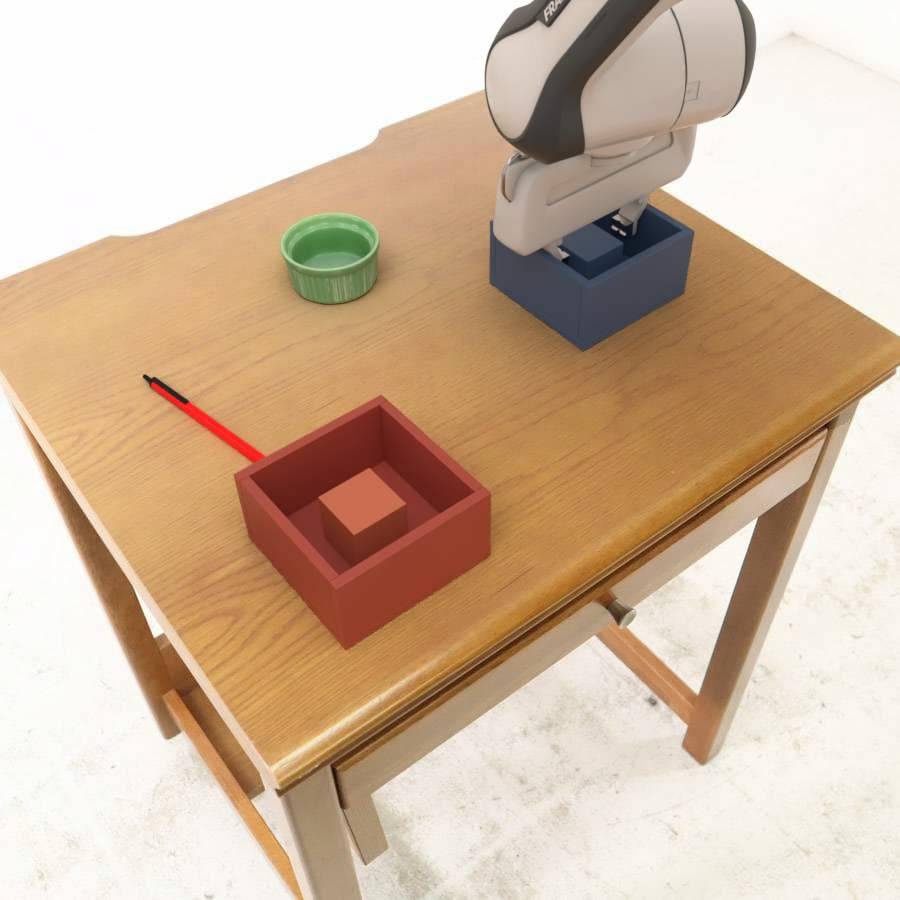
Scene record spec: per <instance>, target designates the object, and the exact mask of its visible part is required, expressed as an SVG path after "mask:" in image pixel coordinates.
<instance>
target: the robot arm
mask: <svg viewBox="0 0 900 900" xmlns="http://www.w3.org/2000/svg"><path fill="white" fill-rule="evenodd" d="M756 28H757V27H756V23H755V20H754V16H753V14H752V12H751V11H750V9H749V6H747V5H746V3H745V1H744V0H532V1H531V2H530V3H528V4H525V5H522V6H519V7H516V8H515V9H514V10H513V11H511V13H510V14H509V15H508V17H507V18H506V19H505V21H504V22H503V23H502V25H501V26H500V27H499V29H498V31H497V33H496V35H495V36H494V39H493V41H492V43H491V44H490V46H489V49H488V52H487V55H486V59H485V65H484V93H485V101H486V105H487V109H488V112H489V115H490V119H491V120H492V123H493V125H494V127H495V129H496V130H497V133H499V135H500V136H501V137H502V138H503V139H504V140H505V141H507V142H508V144H510V145H511V146H512V147H514V149H513V153H512V154H511V155H510V156H509V157H508V158H507V160H506V161H505V162H504V163H503V164H502V165H501V169H500V174H499V178H498V183H497V187H496V188H497V189H496V193H495V202H494V207H493V219H492V220H493V233H494V235H495V237H496V238H497V239H498V240H499V241H500V242H501V243H503V244H504V245H505V246H506V247H508V248H509V249H511V250H513V251H514V252H516V253H518V254H519V255H522V256H526V255H529V254H531V253H533V252H535V251H537V250H539V249H541V248H542V249H544V250H545V251H547V252H548V253H549V254H551V255H552V256H554V257H555V258H557V259H558V260H560V261H561V262H563V263H564V264H566V265H567V266H569V265H568V263H569V258H570V255H569V254H567V253H566V252H564V251H561V249H560V248H558V247H557V246H559V245H561V244H562V239H563V237H564V236H566V235H568V234H570V233H572V232H574V231H576V230H578V229H580V228H582V227H584V226H586V225H588V224H590V223H592V222H594V221H596V220H598V219H600V218H601V217H603V216H605V215H607V214H609V213H611V212H613V211H615V210H617V209H619V208H620V211H619V214H617V215H615V216H613V217H612V227H611V233H612V234H613V236H615V237H619V239H620V240H625V239H627V238H629V237H631V236H633V235H635V234H636V229H637V221H638V219H639V218H640V216H641V214H642V212H643V211H644V209H645V207H646V205H647V203H649V202H650V200H651V193H652V192H655V191H657V190H659V189H661V188H662V187H664V186H666V185H668V184H670V183H672V182H674V181H676V180H679V179H680V178H682V177H683V176H684V175H685V173H686V171H687V170H688V168H689V166H690V165H691V162H692V159H693V155H694V149H695V146H696V145H695V144H696V137H697V131H698V126H699V125H702V124H706V123H709V122H712V121H715V120H717V119H720V118H724V117H727V116H728V115H730V114H731V113H732V112H733V110H734V109H735V108H736V107H737V106H738V104H739V103H740V101H741V100H742V98H743V96H744V95H745V94H746V91H747V89H748V86H749V84H750V81H751V77H752V73H753V71H754V65H755V60H756V52H757V51H756V50H757V31H756V30H757V29H756Z"/></svg>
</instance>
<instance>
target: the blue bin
mask: <svg viewBox="0 0 900 900" xmlns="http://www.w3.org/2000/svg"><path fill="white" fill-rule="evenodd" d="M619 211H620V208H619V209H617V210H615V211H613V212H611V213H609V214H607V215H605V216H603V217H601V218H600V219H598V220H596V221H594V222H592V223H593V224H594V225H596V226H597V227H599V228H601V229H602V230H604V231H605V232H607V233H609V234H610V235H612V236H613V234H612V233H611V227H612V217H613V216H615V215H617V214H619ZM695 233H696V232H695V230H694V229H693V228H691V227H689V226H688V225H686V224H684V223H682V222H681V221H679V220H678V219H676V218H675V217H672V216H671V215H669V214H667V213H665V212H664V211H662V210H660V209H659V208H657V207H655V206H654V205H652V204H651V203H649V202H648V203H647V205H646V207H645V209H644V211H643V212H642V214H641V216H640V218H639V219H638V221H637V229H636V234H635V235H633V236H631V237H629V238H627V239H625V240H620V239H619V237H615V236H613V237H615V238H617V239H618V240H620V241H621V242H623V243H624V244H623V253H622V262H621V264H619V265H617V266H615V267H613V268H611V269H609V270H608V271H606V272H604V273H602V274H600V275H598V276H596V277H595V278H593V279H591V280H588V279H587V278H585V277H584V276H582V275H581V274H579V273H578V272H576V271H575V270H573V269H572V268H570V267H569V266H567V265H566V264H564V263H563V262H561V261H560V260H558V259H557V258H555V257H554V256H552V255H551V254H549V253H548V252H547V251H545V250H544V249H542V248H541V249H539V250H537V251H535V252H533V253H531V254H529V255H526V256H522V255H519V254H518V253H516V252H514V251H513V250H511V249H509V248H508V247H506V246H505V245H504V244H503V243H501V242H500V241H499V240H498V239H497V238H496V237H495V235H494V233H493V219H490V221H489V284H490V285H492V286H493V287H494V288H496V289H497V290H499V291H500V292H501V293H503V294H504V295H505V296H507V298H509V299H511V300H512V301H514V303H516V304H518V305H519V306H520V307H521V308H523V309H525V310H526V311H527V312H529V313H530V314H531V315H533V316H534V317H535V318H537V320H539V321H541V322H542V323H543V324H544V325H546V326H548V327H549V328H550V329H552V330H553V331H555V332H556V333H557V334H559V335H560V336H561V337H563V338H564V339H565V340H567V341H568V342H570V343H571V344H572V345H574V346H575V347H576V348H578V349H579V350H581V351H582V352H585V351H586V350H588V349H590V348H591V347H593V346H595V345H597V344H599V343H601V342H602V341H605V340H606V339H607V338H609V337H611V336H613V335H614V334H616V333H617V332H620V331H622V330H623V329H625V328H627V327H628V326H630V325H632V324H634V323H635V322H637V321H638V320H640V319H642V318H644V317H645V316H647V315H649V314H651V313H653V312H654V311H656V310H659V309H660V308H662V307H664V306H665V305H667V304H668V303H670V302H672V301H674V300H676V299H677V298H679V297H680V296H682V295H684V294H685V290H686V285H687V280H688V274H689V273H688V272H689V268H690V263H691V256H692V250H693V244H694V238H695Z"/></svg>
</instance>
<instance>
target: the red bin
mask: <svg viewBox="0 0 900 900" xmlns="http://www.w3.org/2000/svg"><path fill="white" fill-rule="evenodd" d="M265 456H266V457H265V458H263V459H261V460H259V461H257V462H255V463H254V462H253V463H251V464H250V465H248V466H246V467H244V468H242V469H241V470H239V471H237V472H235V473H233V480H234V483H235V487H236V492H237V495H238V499H239V504H240V508H241V511H242V516H243V519H244V524H245V528H246V532H247V535H248V538H249V539H250V540H251V542H253V544H254V545H255V546H256V547H257V548H258V549H259V551H260V552H261V553H262V554H263V555H264V556H265V558H266V559H267V560H268V561H269V562H270V564H271V565H272V566H273V567H274V568H275V569H276V571H277V572H278V573H279V574H280V575H281V576H282V577H283V579H284V580H285V581H286V582H287V584H289V585H290V587H291V588H292V589H293V591H295V592H296V594H297V595H298V597H300V599H301V600H303V602H304V603H305V604H306V606H307V607H308V608H309V609H310V610H311V611H312V613H314V615H315V616H316V617H317V618H318V619H319V621H321V623H322V624H323V625H324V627H326V629H327V630H328V631H329V632H330V633H331V634H332V636H333V637H334V638H335V639H336V641H338V643H339V644H340V645H341V646H342V647H343V649H344V650H346V651H347V650H349V649H350V648H351V647H353V646H354V645H356V644H357V643H359V642H360V641H362V640H363V639H365V638H367V637H368V636H370V635H371V634H373V633H374V632H376V631H377V630H379V629H381V628H382V627H383V626H385V625H387V624H388V623H389V622H391V621H392V620H394V619H395V618H397V617H398V616H400V615H402V614H404V613H405V612H406V611H408V610H410V609H411V608H413V607H414V606H416V605H417V604H419V603H420V602H422V601H423V600H425V599H426V598H428V597H429V596H431V595H433V594H434V593H435V592H437V591H439V590H440V589H442V588H444V587H445V586H447V585H448V584H449V583H451V582H453V581H454V580H456V579H457V578H459V577H460V576H462V575H463V574H465V573H466V572H468V571H469V570H471V569H473V568H474V567H475V566H477V565H478V564H480V563H482V562H483V561H485V560H486V559H487V558H489V557H490V556H491V535H492V534H491V533H492V532H491V531H492V529H491V528H492V522H491V521H492V492H490V491H489V490H488V489H487V488H486V487H485V486H484V485H483V484H482V483H480V482H479V481H478V480H477V479H476V478H475V477H474V476H473V475H472V474H471V473H470V472H468V471H467V469H465V468H464V467H463V466H461V464H459V462H457V461H456V460H455V459H454V458H453V457H452V456H451V455H449V453H447V452H446V451H445V450H444V449H443V448H442V447H440V445H439V444H437V443H436V442H435V441H434V440H433V439H432V438H431V437H430V436H428V434H426V433H425V431H423V430H421V428H419V427H418V426H417V425H416V424H415V423H414V422H413V421H412V420H411V419H409V418H408V417H407V416H406V415H405V414H404V413H403V412H402V411H401V410H399V409H398V408H397V407H396V406H395V405H394V404H393V403H392V402H391V401H390V400H388V399H387V398H386V397H385V396H384V395H383V394H379V395H378V396H376V397H374V398H372V399H370V400H368V401H367V402H365V403H363V404H361V405H359V406H357V407H355V408H353V409H351V410H350V411H347V412H346V413H345V414H343V415H340V416H339V417H337V418H335V419H333V420H331V421H330V422H327V423H325V424H324V425H322V426H320V427H319V428H316V429H315V430H312V431H311V432H309V433H307V434H305V435H304V436H301V437H300V438H298V439H296V440H294V441H292V442H290V443H289V444H287V445H285V446H283V447H281V448H279V449H277V450H275V451H273V452H272V453H270V454H268V455H265ZM368 468H370V469H371V470H372V471H373V472H374V473H375V474H376V475H377V476H378V477H379V478H380V479H381V480H382V481H384V482H385V483H386V484H387V485H388V486H389V487H390V488H391V489H392V490H393V491H394V492H395V493H396V494H397V495H398V496H399V497H400V498H401V499H402V500H403V501H404V502H405V503H406V506H407V519H408V532H409V533H408V534H406V535H404V536H403V537H401V538H399V539H398V540H396V541H395V542H393V543H391V544H390V545H388V546H386V547H385V548H383V549H382V550H380V551H378V552H377V553H375V554H373V555H372V556H370V557H369V558H367V559H365V560H364V561H362V562H360V563H359V564H357V565H356V566H354V567H352V566H351V565H350V564H349V563H348V562H347V561H346V560H345V559H344V558H343V557H342V555H341V554H340V553H339V552H338V551H337V550H336V549H335V548H334V547H333V546H332V545H331V544H330V543H329V541H328V540H327V539H326V538H325V536H324V531H323V525H322V519H321V513H320V507H319V501H318V497H319V496H321V495H323V494H324V493H326V492H328V491H330V490H331V489H333V488H335V487H337V486H338V485H340V484H342V483H344V482H345V481H347V480H349V479H351V478H352V477H354V476H356V475H358V474H359V473H361V472H363V471H365V470H366V469H368Z"/></svg>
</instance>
